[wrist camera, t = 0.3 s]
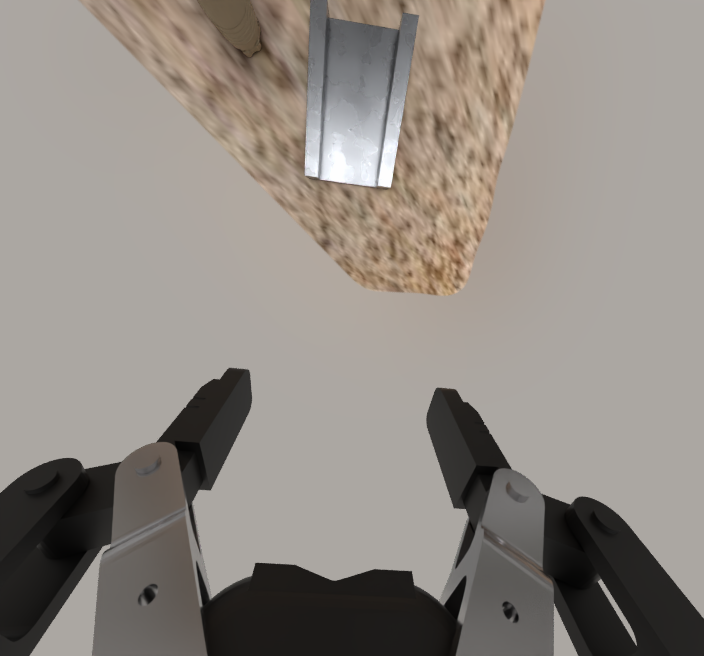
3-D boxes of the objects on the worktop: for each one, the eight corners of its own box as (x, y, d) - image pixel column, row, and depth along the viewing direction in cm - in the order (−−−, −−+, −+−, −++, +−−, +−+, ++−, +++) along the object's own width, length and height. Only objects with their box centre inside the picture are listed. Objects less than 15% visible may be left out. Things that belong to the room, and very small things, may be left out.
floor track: (315, 22, 26) (310, -4, 23) (410, 38, 26) (418, 15, 23) (309, 178, 32) (304, 175, 29) (386, 189, 32) (390, 187, 29)
